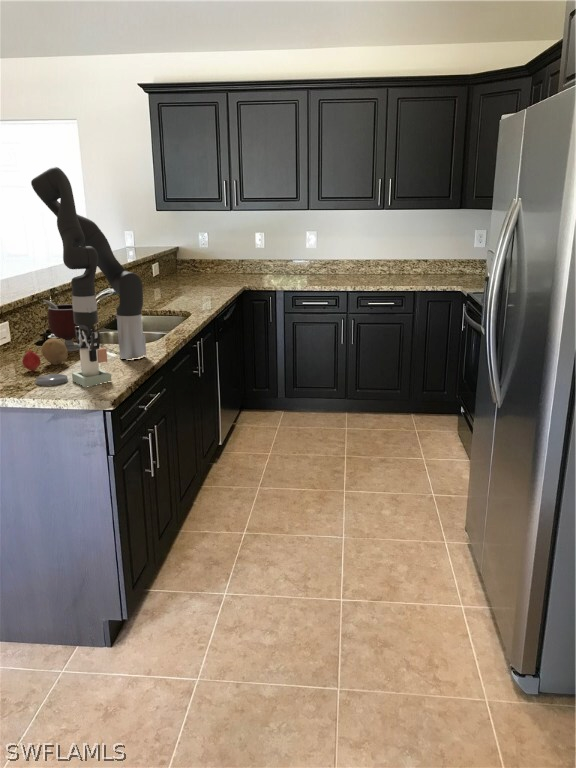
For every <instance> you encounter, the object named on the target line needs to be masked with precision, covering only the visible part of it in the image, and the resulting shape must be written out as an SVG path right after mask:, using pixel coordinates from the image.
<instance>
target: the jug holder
mask: <svg viewBox="0 0 576 768" xmlns="http://www.w3.org/2000/svg"><path fill="white" fill-rule="evenodd" d="M71 379H72V382H73V381H74V382H73V383H75V382H76V383H75V384H77V383H78V384H77V385H79V384H80V385H79V386H81V385H82V386H81V387H83V386H84V387H86V388H88V387H87V386H91V387H93V386H92V385H96V384H100V383H104V382H108V381H112V373H110V372H108V371H105V370H104V369H101V368H99V375H96V376H91V377H84V376H82V371H81V370H80V371H76V372H71ZM96 386H97V385H96ZM84 387H83V388H84Z"/></svg>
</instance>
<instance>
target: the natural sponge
mask: <svg viewBox="0 0 576 768" xmlns="http://www.w3.org/2000/svg"><path fill="white" fill-rule="evenodd" d="M64 343H65V342H63V341H62V340H61V339H60V338H58V337H56V338H55V337H50V338H49V339H47V340H46V341H44V342H43V344H42V346H41V349H40V350H41V354H42V356H43V358H45V360H46V361H47V362H49V363H50V364H51V365H54V366H58V365H60V364H61V363H63V362H64V361H66V360H67V359H68V352H69V351H67V349H66V346H65V344H64Z"/></svg>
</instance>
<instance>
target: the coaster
mask: <svg viewBox="0 0 576 768" xmlns="http://www.w3.org/2000/svg"><path fill="white" fill-rule="evenodd" d="M68 379H69V378H68V375H65V374H62V373H60V374H59V373H52V374H45V375H40V376H38V377H36V378H35V384H36V385H37V384H38V386H40V385H55V386H58V385H57V384H60V385H62V384H61V383H63V384H65V383H64V382H66V381H67V382H68ZM67 382H66V383H67Z"/></svg>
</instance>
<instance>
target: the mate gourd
mask: <svg viewBox="0 0 576 768" xmlns="http://www.w3.org/2000/svg"><path fill="white" fill-rule="evenodd" d="M42 301H43V303H45V304H47V305H49V306H48V311H47V319H48V326H49V329H50V332H51V333H52V334H53V335H54V336H55V337H56V338H58V339H62V340H64V342H63V343H64V344H65V346H66V349H67V352H74V351H75V352H77V351H80V349H81V347H80V346H79V344H77V342H74V341H73V340H74V339H76V333H75V326H79V325H76V324H75V323H74V316H73V305H72V303H70V304H68V303H67V304H55V303H53V302H51V301H49V300H46V299H43V300H42Z"/></svg>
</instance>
